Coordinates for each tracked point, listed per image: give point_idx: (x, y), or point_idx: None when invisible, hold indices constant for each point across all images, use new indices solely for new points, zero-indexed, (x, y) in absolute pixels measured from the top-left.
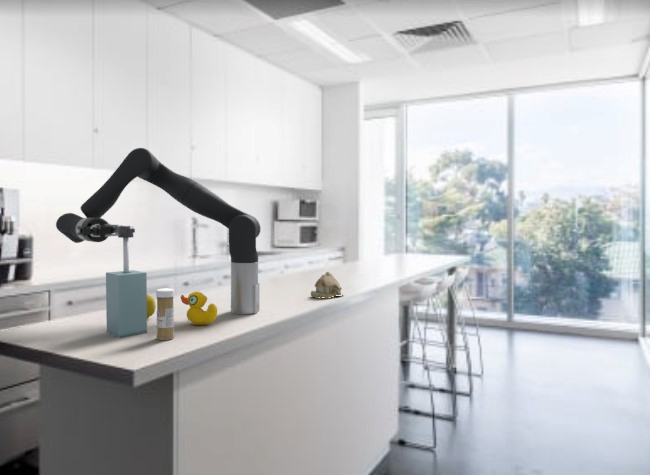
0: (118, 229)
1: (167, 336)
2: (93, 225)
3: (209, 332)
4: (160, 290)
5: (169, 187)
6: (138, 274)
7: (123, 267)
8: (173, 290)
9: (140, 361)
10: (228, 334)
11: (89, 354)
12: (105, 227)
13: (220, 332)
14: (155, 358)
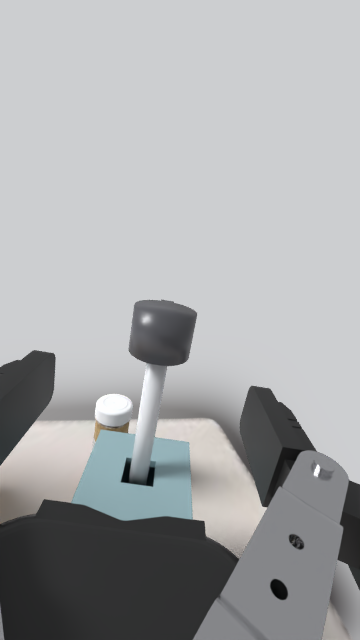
0: (194, 325)
1: None
2: (317, 507)
3: (24, 460)
4: (129, 402)
5: None
6: (126, 435)
7: (150, 458)
8: (106, 395)
9: (198, 431)
10: (26, 432)
11: (245, 500)
12: (129, 521)
13: (16, 447)
14: (179, 428)
